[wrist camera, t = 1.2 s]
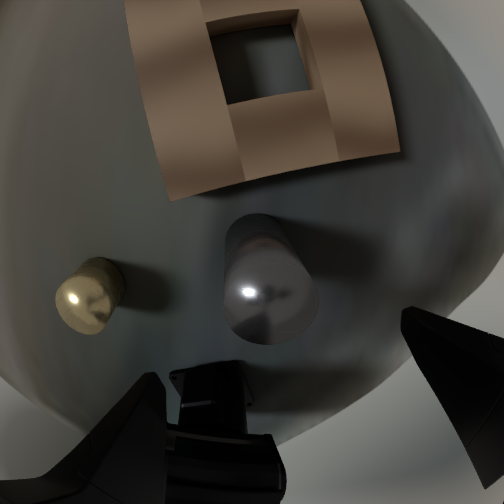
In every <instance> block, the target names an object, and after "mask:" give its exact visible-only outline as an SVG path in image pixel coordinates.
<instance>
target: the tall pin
mask: <svg viewBox="0 0 504 504" xmlns="http://www.w3.org/2000/svg"><path fill="white" fill-rule="evenodd" d="M318 306H319V295H318V291H317V288H316V286H315V284H314V282H313V280H312V279H311V277H310V275H309V274H308V272H307V270H306V268H305V267H304V265H303V263H302V261H301V260H300V258H299V256H298V255H297V253H296V251H295V250H294V248H293V246H292V245H291V243H290V241H289V240H288V238H287V236H286V235H285V233H284V231H283V230H282V228H281V226H280V225H279V224H278V222H276V221H275V220H274V219H273V218H271V217H269V216H267V215H264V214H248V215H245V216H243V217H241V218H239V219H238V220H236V221H235V222H234V223H233V224H232V225H231V227H230V228H229V230H228V232H227V235H226V240H225V272H224V315H225V318H226V321H227V323H228V325H229V326H230V328H231V329H232V330H233V332H234V333H236V334H237V335H238V336H239V337H241V338H242V339H244V340H247V341H249V342H252V343H256V344H262V345H272V344H279V343H283V342H286V341H288V340H291V339H293V338H295V337H297V336H298V335H300V334H301V333H302V332H303V331H305V330H306V329H307V328H308V326H309V325H310V324H311V323H312V321H313V320H314V318H315V316H316V313H317V310H318Z"/></svg>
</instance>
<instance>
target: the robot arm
mask: <svg viewBox="0 0 504 504" xmlns="http://www.w3.org/2000/svg"><path fill="white" fill-rule="evenodd" d="M401 332H402V335H403V337H404V339H405V341H406V343H407V345H408V347H409V349H410V351H411V353H412V355H413V357H414V359H415V361H416V363H417V365H418V367H419V368H420V370H421V371H422V373H423V375H424V376H425V378H426V379H427V381H428V383H429V385H430V386H431V388H432V390H433V391H434V393H435V395H436V396H437V398H438V400H439V402H440V403H441V405H442V407H443V408H444V410H445V412H446V414H447V415H448V417H449V419H450V421H451V422H452V424H453V426H454V428H455V430H456V432H457V434H458V435H459V438H460V440H461V441H462V443H463V445H464V447H465V449H466V451H467V454H468V456H469V458H470V459H471V461H472V463H473V466H474V468H475V470H476V472H477V474H478V476H479V479H480V481H481V483H482V485H483V487H484V489H487V488H488V487H489V486H491V485H492V484H493V483H495V482H496V481H497V480H498V479H499V478H501V477H502V476H503V475H504V338H501V337H498V336H495V335H493V334H488V333H487V332H484V331H481V330H479V329H476V328H473V327H470V326H467V325H464V324H462V323H459V322H456V321H453V320H450V319H448V318H445V317H442V316H439V315H436V314H434V313H431V312H428V311H425V310H422V309H420V308H417V307H414V306H410V307H408V308H405V309H403V310H402V314H401ZM232 366H236V367H232ZM174 376H175V377H174ZM169 379H170V381H171V382H172V384H173V386H174V387H175V389H176V390H177V392H178V393H179V395H180V396H181V403H180V412H179V420H178V425H176V424H170V423H168V422H167V413H166V389H165V387H164V385H163V383H162V382H161V380H160V378H159V377H158V375H157V374H156V373H155V372H147V373H144V374H143V375H142V376H141V377H140V378H139V379H138V380H137V381H136V382H135V383H134V384H133V386H132V387H131V388H130V389H129V390H128V391H127V392H126V393H125V394H124V395H123V396H122V398H121V399H120V400H119V401H118V402H117V403H116V404H115V405H114V406H113V407H112V408H111V410H110V411H109V412H108V413H107V414H106V415H105V416H104V417H103V418H102V419H101V420H100V421H99V423H98V424H97V425H96V426H95V427H94V428H93V429H92V430H91V431H90V432H89V434H87V435H86V437H85V438H84V439H83V440H82V441H81V442H80V443H79V444H78V445H77V446H76V447H75V448H74V449H73V450H72V451H71V452H70V453H69V454H68V455H67V456H65V457H64V458H63V459H62V460H61V461H60V462H59V463H58V464H56V465H55V466H54V467H53V468H52V469H51V470H50V471H48V472H47V473H46V474H44V475H42V476H40V477H37V478H30V479H18V480H0V504H280V501H281V500H282V499H283V497H284V495H285V491H286V483H287V480H286V471H285V467H284V464H283V462H282V460H281V457H280V455H279V452H278V450H277V447H276V445H275V442H274V440H273V437H272V435H271V434H264V435H258V434H248V430H247V419H246V408H249V407H253V406H254V399H253V397H252V394H251V392H250V389H249V387H248V384H247V382H246V379H245V377H244V374H243V371H242V369H241V366H240V364H239V362H237V361H230V362H225V363H220V364H214V365H209V366H203V367H197V368H191V369H184V370H177V371H172V372H170V374H169ZM503 504H504V502H503Z"/></svg>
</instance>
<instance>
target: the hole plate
mask: <svg viewBox="0 0 504 504" xmlns="http://www.w3.org/2000/svg"><path fill="white" fill-rule="evenodd" d="M124 5H125V12H126V18H127V24H128V30H129V36H130V41H131V47H132V52H133V57H134V62H135V67H136V72H137V76H138V81H139V85H140V90H141V94H142V99H143V103H144V107H145V111H146V115H147V119H148V123H149V127H150V131H151V135H152V139H153V143H154V147H155V150H156V154H157V158H158V161H159V165H160V168H161V172H162V175H163V179H164V182H165V186H166V189H167V192H168V196H169V199H170V202H171V201H174V200H178V199H181V198H185V197H188V196H192V195H195V194H199V193H202V192H206V191H210V190H213V189H217V188H221V187H225V186H229V185H233V184H237V183H241V182H245V181H249V180H253V179H257V178H261V177H265V176H270V175H274V174H279V173H283V172H288V171H292V170H297V169H302V168H307V167H312V166H317V165H322V164H327V163H333V162H338V161H344V160H349V159H355V158H361V157H368V156H374V155H381V154H387V153H394V152H400V146H399V140H398V134H397V128H396V122H395V117H394V112H393V107H392V102H391V98H390V93H389V89H388V85H387V81H386V77H385V73H384V69H383V66H382V62H381V59H380V55H379V52H378V49H377V46H376V42H375V39H374V36H373V33H372V30H371V28H370V25H369V22H368V19H367V17H366V14H365V11H364V9H363V6H362V4H361V1H360V0H124ZM283 24H291V26H292V29H293V32H294V36H295V39H296V42H297V45H298V49H299V52H300V55H301V59H302V62H303V66H304V69H305V73H306V77H307V80H308V84H309V88H310V90H307V91H299V92H293V93H286V94H280V95H274V96H269V97H263V98H258V99H253V100H248V101H244V102H239V103H235V104H230V105H227V104H226V100H225V96H224V92H223V88H222V84H221V80H220V76H219V73H218V69H217V65H216V61H215V57H214V53H213V50H212V46H211V42H210V38H209V37H211V36H215V35H220V34H224V33H229V32H235V31H240V30H246V29H252V28H259V27H266V26H274V25H283Z"/></svg>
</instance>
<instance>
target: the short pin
mask: <svg viewBox="0 0 504 504" xmlns="http://www.w3.org/2000/svg"><path fill="white" fill-rule="evenodd" d="M124 290H125V284H124V279H123V277H122V275H121V273H120V271H119V270H118V269H117V267H116V266H115V265H114V264H112V263H111V262H109V261H108V260H106V259H103V258H91V259H88V260H87V261H85V262H84V263H83V264H82V265H81V266H80V267H79V268H78V269H77V270H76V271H75V272H74V273H73V274H72V275H71V276H70V277H69V278H68V279H67V280H66V281H65V282H64V283H63V284H62V285H61V286H60V287H59V289H58V290H57V293H56V298H55V300H56V306H57V309H58V312H59V314H60V316H61V317H62V319H63V320H64V321H65V322H66V323H67V324H68V325H69V326H70V327H71V328H73V329H74V330H76V331H78V332H80V333H83V334H89V335H91V334H97V333H99V332H100V331H102V330H103V328H104V327H105V325H106V323H107V322H108V320H109V318H110V316H111V315H112V313H113V311H114V309H115V308H116V306H117V304H118V303H119V301H120V299H121V298H122V296H123V294H124Z"/></svg>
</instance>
